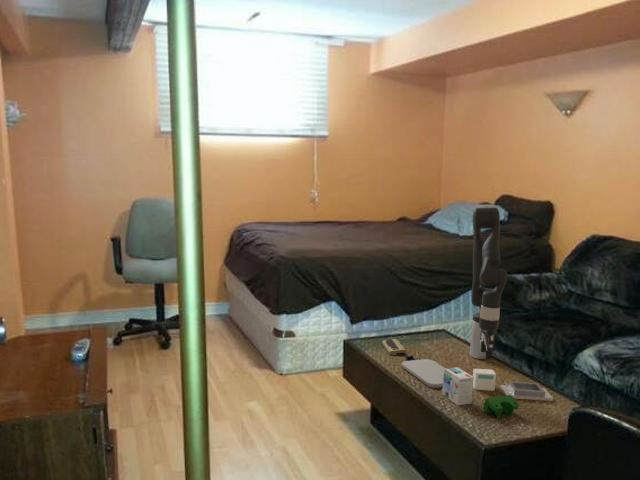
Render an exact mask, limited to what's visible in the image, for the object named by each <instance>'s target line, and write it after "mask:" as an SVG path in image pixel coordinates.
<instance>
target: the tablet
mask: <svg viewBox="0 0 640 480" xmlns="http://www.w3.org/2000/svg"><path fill="white" fill-rule="evenodd" d="M401 366H402V367H403V368H402V369H404V370H405V371H406V372H408V373H409V374H411V376H413V377H415V378H416V379H417V380H419V381H420V382H422V383H423V384H425V385H426V386H427V387H430V388H434V389H435V388H443V378H444V369H447V368H445V367H444V365H441V364H439V363H438V362H436V361H434V360H432V359H429V358H427V359H426V358H423V359H415V360H414V359H413V360H405V361H402V362H401Z"/></svg>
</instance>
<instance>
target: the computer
mask: <svg viewBox="0 0 640 480" xmlns="http://www.w3.org/2000/svg"><path fill="white" fill-rule="evenodd" d="M381 344H382V345H383V347H384V348H385V350H386V352H387V353H388V354H389V355H390V356H406V355H407V350H406V349H405V348H404V346H403V345H402V344H401V343H400V341H399V339H396V338H391V339H385V340H382V342H381Z"/></svg>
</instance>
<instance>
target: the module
mask: <svg viewBox="0 0 640 480" xmlns="http://www.w3.org/2000/svg"><path fill="white" fill-rule="evenodd" d="M472 376H473V377H474V381H473V389H474V390H475V391H476V390H477V391H480V390H481V391H492V392H494V391H495V387H496V378H497V374H496V372H495V371H494V369H488V368H487V369H484V368H473V370H472Z"/></svg>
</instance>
